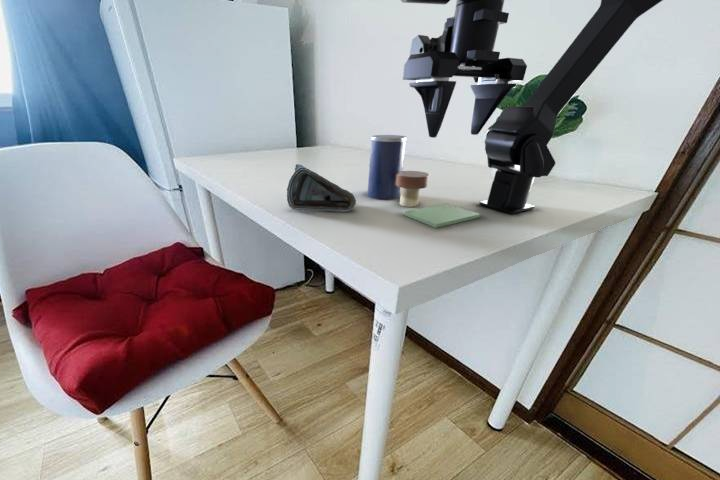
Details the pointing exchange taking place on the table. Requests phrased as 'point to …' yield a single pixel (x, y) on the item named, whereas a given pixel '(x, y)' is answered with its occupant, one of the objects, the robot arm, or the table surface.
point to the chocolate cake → (317, 193)
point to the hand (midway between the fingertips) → (454, 135)
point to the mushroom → (411, 186)
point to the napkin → (441, 215)
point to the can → (385, 165)
